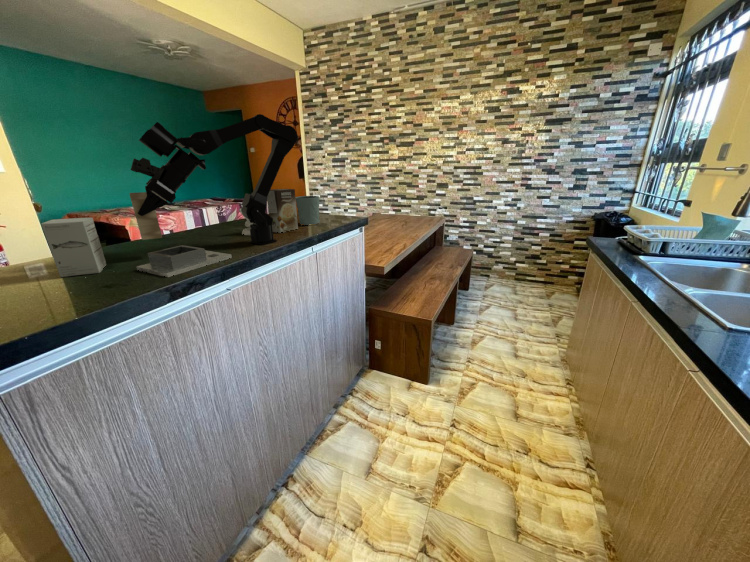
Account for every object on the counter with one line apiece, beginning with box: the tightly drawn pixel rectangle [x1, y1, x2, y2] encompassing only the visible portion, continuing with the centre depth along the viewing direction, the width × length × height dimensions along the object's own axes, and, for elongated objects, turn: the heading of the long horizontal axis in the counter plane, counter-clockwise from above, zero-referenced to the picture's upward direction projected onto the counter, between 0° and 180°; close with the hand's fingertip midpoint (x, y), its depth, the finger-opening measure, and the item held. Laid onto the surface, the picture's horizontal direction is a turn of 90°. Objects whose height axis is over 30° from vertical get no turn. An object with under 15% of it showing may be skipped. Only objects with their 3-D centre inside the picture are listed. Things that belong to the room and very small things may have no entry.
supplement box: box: [41, 217, 107, 278], centre depth 73 cm, size 7×7×13 cm
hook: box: [239, 208, 253, 236], centre depth 117 cm, size 8×12×7 cm
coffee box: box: [267, 188, 299, 234], centre depth 121 cm, size 9×6×16 cm
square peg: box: [129, 191, 163, 241], centre depth 84 cm, size 5×5×12 cm
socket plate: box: [135, 244, 232, 278], centre depth 80 cm, size 18×12×4 cm, turn 155°
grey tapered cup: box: [295, 195, 320, 225], centre depth 135 cm, size 10×10×12 cm
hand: (139, 213), depth 83 cm, fingers closed on square peg, 5 cm apart
